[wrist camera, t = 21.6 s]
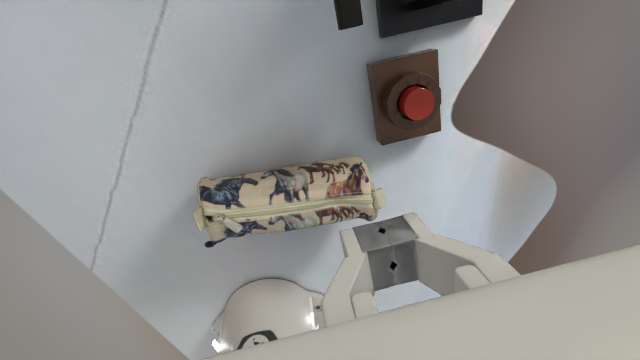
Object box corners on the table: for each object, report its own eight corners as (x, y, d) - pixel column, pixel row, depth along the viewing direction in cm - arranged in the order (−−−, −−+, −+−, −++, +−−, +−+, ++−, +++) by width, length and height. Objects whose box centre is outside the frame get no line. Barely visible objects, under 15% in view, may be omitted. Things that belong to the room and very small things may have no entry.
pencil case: (216, 220, 43) (200, 266, 34) (201, 165, 40) (179, 200, 31) (366, 199, 45) (388, 237, 36) (365, 144, 41) (389, 171, 33)
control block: (433, 126, 42) (448, 134, 38) (376, 140, 41) (386, 150, 38) (429, 48, 37) (445, 49, 34) (366, 63, 37) (376, 66, 34)
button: (428, 113, 37) (435, 116, 35) (400, 120, 37) (405, 123, 35) (427, 83, 35) (434, 84, 34) (397, 90, 35) (402, 92, 34)
